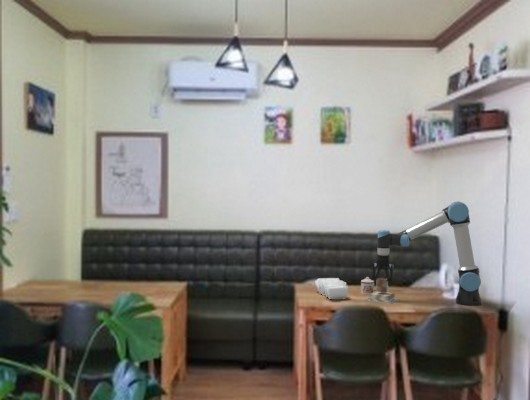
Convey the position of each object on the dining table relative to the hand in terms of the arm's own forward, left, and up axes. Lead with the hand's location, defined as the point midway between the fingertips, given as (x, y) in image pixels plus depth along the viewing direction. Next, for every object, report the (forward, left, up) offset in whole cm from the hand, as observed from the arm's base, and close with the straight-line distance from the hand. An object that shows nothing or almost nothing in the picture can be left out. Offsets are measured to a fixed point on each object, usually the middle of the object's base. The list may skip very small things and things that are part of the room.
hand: (382, 290), depth 351 cm
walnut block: (0, 0, 0) cm, 0 cm away
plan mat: (0, 0, -6) cm, 6 cm away
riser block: (0, 0, -6) cm, 6 cm away
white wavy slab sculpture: (+33, +5, -7) cm, 34 cm away
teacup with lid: (+14, -15, -7) cm, 22 cm away
